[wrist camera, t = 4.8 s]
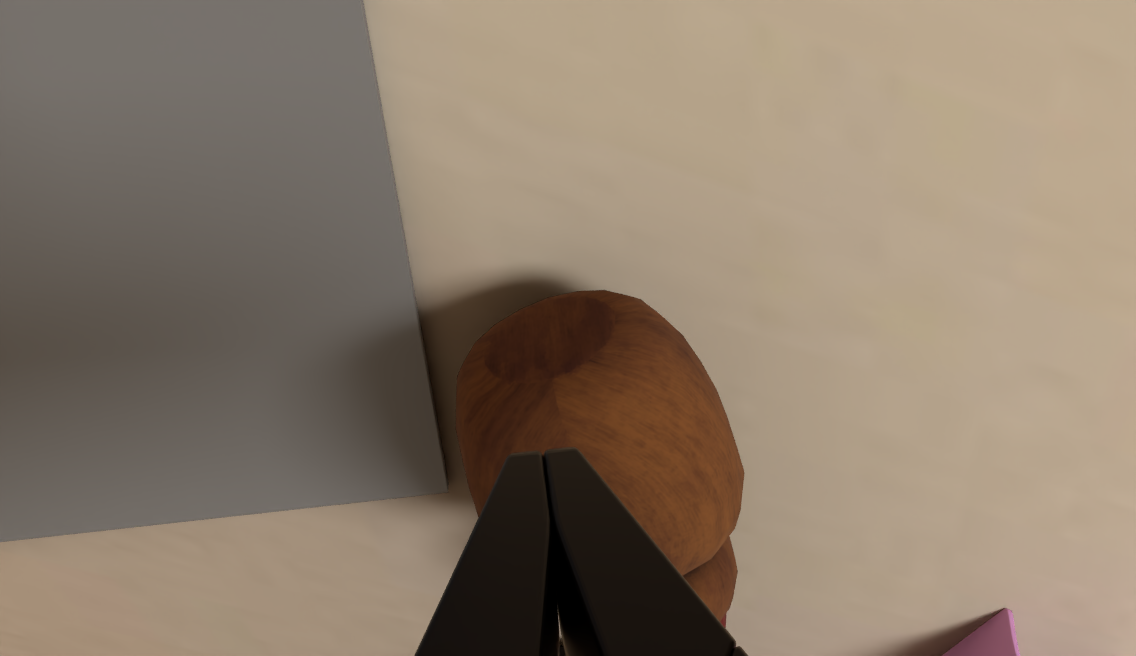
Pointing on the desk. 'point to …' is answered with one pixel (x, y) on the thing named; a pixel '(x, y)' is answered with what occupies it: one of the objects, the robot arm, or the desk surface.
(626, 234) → the desk surface
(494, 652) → the robot arm
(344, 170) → the mat
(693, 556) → the wooden figurine
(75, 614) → the desk surface
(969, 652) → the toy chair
